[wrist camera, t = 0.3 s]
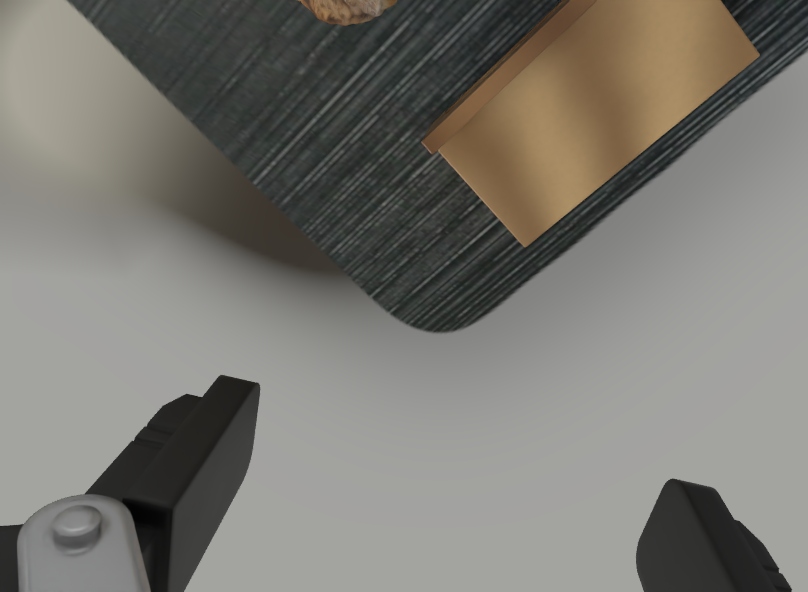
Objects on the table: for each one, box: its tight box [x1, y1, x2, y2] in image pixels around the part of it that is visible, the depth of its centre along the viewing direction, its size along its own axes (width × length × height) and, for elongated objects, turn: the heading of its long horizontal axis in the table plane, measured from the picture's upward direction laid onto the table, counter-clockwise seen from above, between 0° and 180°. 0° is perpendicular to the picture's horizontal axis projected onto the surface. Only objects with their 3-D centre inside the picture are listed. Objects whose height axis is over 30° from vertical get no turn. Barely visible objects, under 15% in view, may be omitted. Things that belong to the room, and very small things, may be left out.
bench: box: [421, 0, 760, 247], centre depth 31 cm, size 14×8×10 cm, turn 133°
